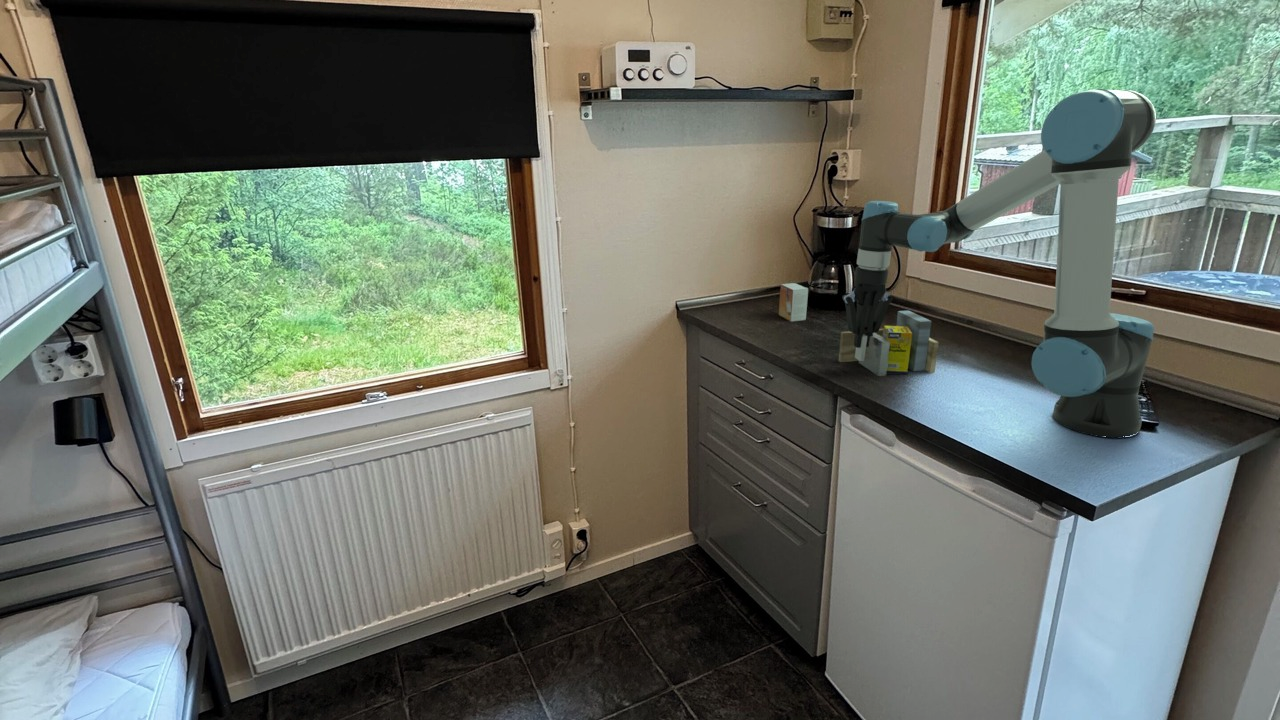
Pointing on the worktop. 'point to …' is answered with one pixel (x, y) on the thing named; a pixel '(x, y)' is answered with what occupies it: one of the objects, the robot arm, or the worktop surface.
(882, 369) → the bookend
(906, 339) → the supplement box
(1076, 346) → the robot arm
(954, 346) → the worktop surface
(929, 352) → the rack
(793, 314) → the small box
